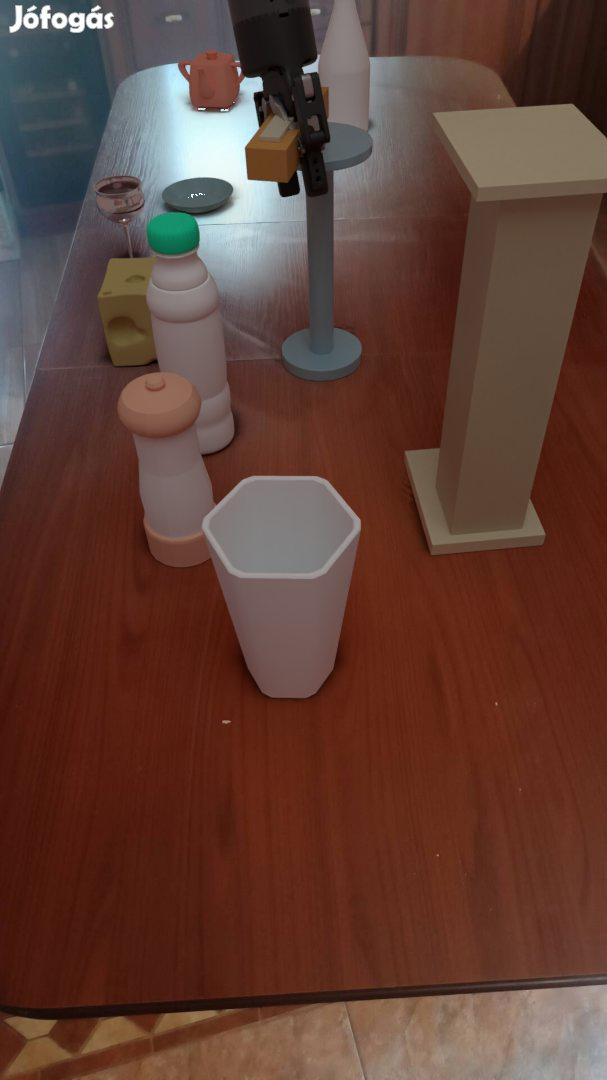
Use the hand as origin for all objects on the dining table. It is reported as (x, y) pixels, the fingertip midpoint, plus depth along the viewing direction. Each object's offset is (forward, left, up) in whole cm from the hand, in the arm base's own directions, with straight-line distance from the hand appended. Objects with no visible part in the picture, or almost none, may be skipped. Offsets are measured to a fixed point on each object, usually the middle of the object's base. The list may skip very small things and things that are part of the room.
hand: (303, 196), depth 83 cm
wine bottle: (-15, -79, -22) cm, 83 cm away
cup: (+6, +43, -22) cm, 49 cm away
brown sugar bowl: (+9, -99, -22) cm, 102 cm away
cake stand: (-2, -3, -22) cm, 22 cm away
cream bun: (+1, -2, +4) cm, 5 cm away
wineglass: (+23, -31, -22) cm, 45 cm away
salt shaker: (+15, +27, -22) cm, 38 cm away
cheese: (+19, -9, -22) cm, 30 cm away
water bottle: (+13, +11, -22) cm, 28 cm away
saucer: (+13, -51, -22) cm, 57 cm away
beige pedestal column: (-14, +25, -22) cm, 36 cm away
